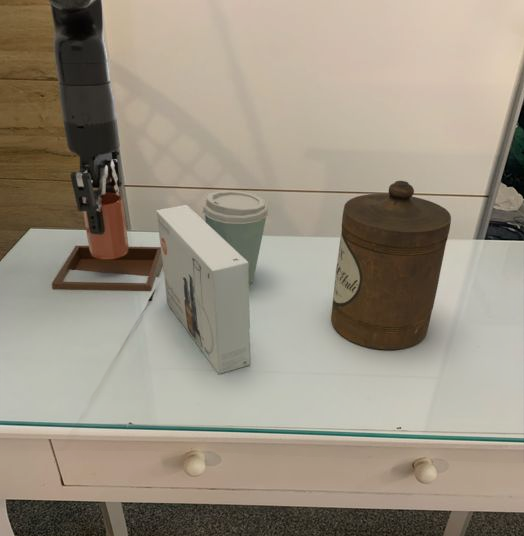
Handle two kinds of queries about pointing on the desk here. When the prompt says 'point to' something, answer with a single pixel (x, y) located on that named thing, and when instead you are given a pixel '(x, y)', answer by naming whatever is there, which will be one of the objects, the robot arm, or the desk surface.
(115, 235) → the cup
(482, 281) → the desk surface
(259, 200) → the disposable coffee cup
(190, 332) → the skincare box
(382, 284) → the wooden container
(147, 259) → the tray
